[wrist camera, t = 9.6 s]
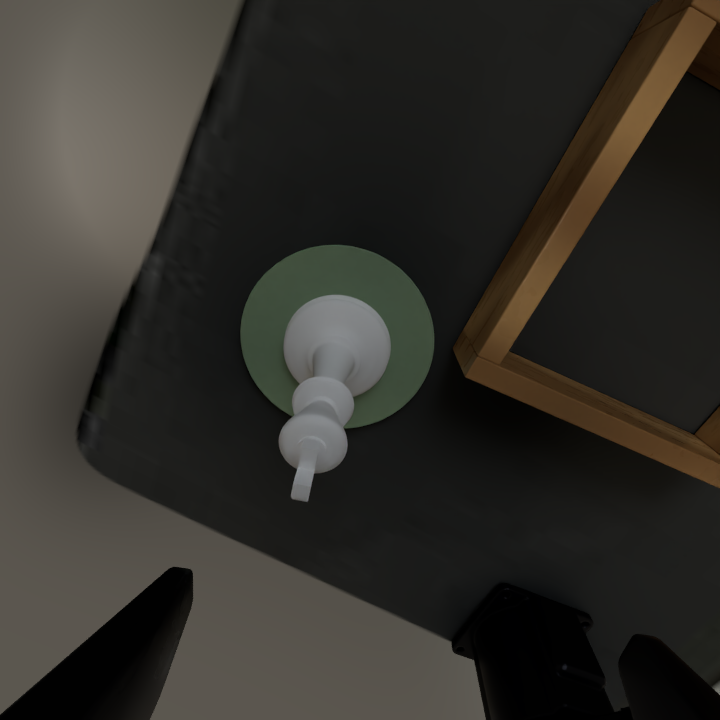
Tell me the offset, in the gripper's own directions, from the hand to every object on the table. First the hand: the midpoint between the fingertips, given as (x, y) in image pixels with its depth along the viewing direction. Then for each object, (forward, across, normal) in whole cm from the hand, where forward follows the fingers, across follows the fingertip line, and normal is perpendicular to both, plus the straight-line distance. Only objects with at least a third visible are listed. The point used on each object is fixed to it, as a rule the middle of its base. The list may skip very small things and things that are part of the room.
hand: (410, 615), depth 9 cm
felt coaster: (+13, +3, -1) cm, 13 cm away
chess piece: (+13, +3, -1) cm, 13 cm away
